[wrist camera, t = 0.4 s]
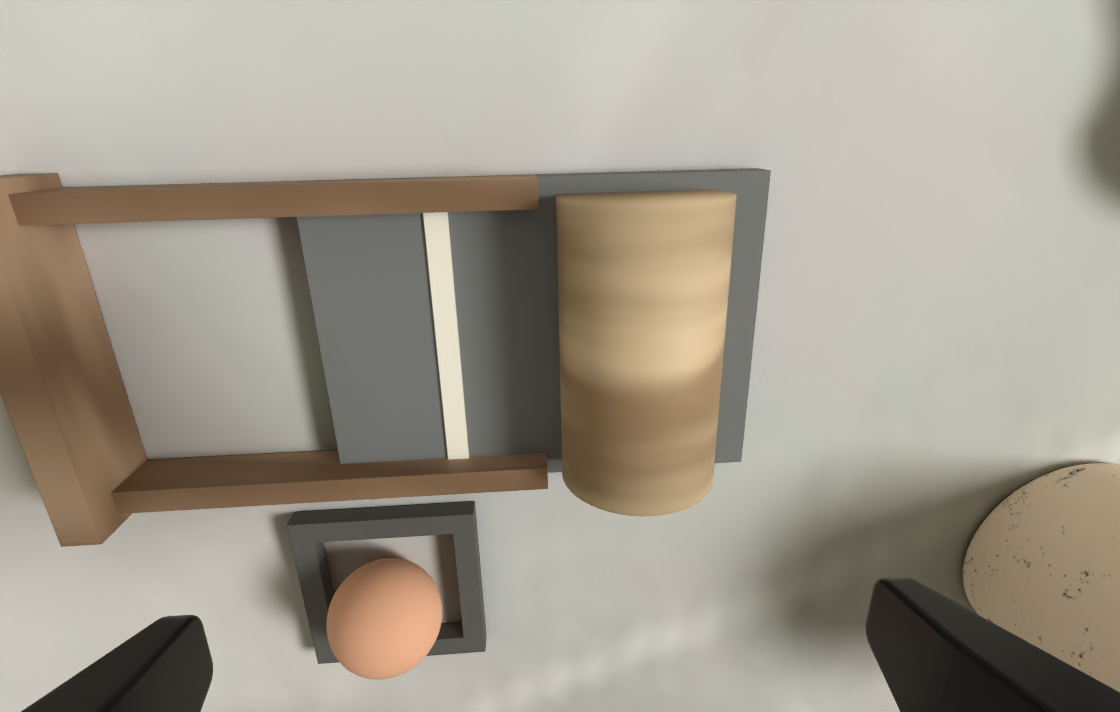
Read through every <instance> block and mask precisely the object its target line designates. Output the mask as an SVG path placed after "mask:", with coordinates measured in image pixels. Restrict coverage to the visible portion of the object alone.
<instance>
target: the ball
mask: <svg viewBox="0 0 1120 712" xmlns="http://www.w3.org/2000/svg"><path fill="white" fill-rule="evenodd" d="M441 622H442V601H441V597H440V593H439V591H438V588H437V586H436V584H435V582H434V581H433V579H432V578H431V577H430V575H429V574H428V573H427V572H426V571H425V570H424V569H422V568H421V567H420V566H418V565H416V564H415V563H413V562H410V561H407V560H404V559H399V558H383V559H378V560H374V561H371V562H369V563H366V564H364V565H362V566H361V567H359V568H358V569H356V570H355V571H353V572H352V573H351V574H350V575H349V576H348V577H347V578H346V579H345V580H344V581H343V582H342V583H341V585H340V586H339V587H338V589H337V591H336V592H335V594H334V596H333V598H332V601H331V603H330V606H329V610H328V614H327V625H326V627H327V637H328V641H329V644H330V647H331V649H332V651H333V653H334V655H335V657H336V658H337V660H338V661H339V662H340V663H341V664H342V665H343V666H344V667H345V668H346V669H347V670H349V671H350V672H352V673H354V674H356V675H358V676H361V677H364V678H369V679H387V678H392V677H396V676H398V675H401V674H403V673H405V672H407V671H409V670H410V669H412V668H413V667H414V666H416V665H417V664H418V663H419V662H421V660H422V659H423V658H424V657H425V656H426V655H427V654H428V652H429V651H430V650H431V648H432V646H433V645H434V643H435V641H436V639H437V636H438V634H439V631H440V627H441Z"/></svg>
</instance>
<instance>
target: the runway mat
mask: <svg viewBox="0 0 1120 712" xmlns="http://www.w3.org/2000/svg"><path fill="white" fill-rule="evenodd" d="M770 172H771V171H770V170H764V169H758V168H757V169H720V170H683V171H647V172H610V173H574V174H537V175H536V177H537V180H538V208H539V209H533V210H501V211H468V212H436V213H403V214H371V215H338V216H306V217H297V222H298V228H299V233H300V239H301V245H302V250H303V256H304V261H305V267H306V273H307V278H308V284H309V290H310V295H311V301H312V306H313V312H314V318H315V323H316V329H317V335H318V340H319V346H320V351H321V357H322V363H323V368H324V374H325V380H326V385H327V391H328V396H329V402H330V408H331V413H332V419H333V425H334V430H335V436H336V442H337V447H338V453H339V458H340V464H350V463H369V462H387V461H405V460H423V459H442V458H448V460H451V459H469V457H478V456H496V455H515V454H533V453H546V460H547V473H549V472H562V434H561V390H560V347H559V303H558V260H557V217H556V196H557V195H560V194H577V193H611V192H645V191H679V190H721V191H727V192H731V193H734V194H736V196H737V197H736V209H735V221H734V233H733V245H732V257H731V269H730V281H729V294H728V306H727V318H726V330H725V342H724V354H723V366H722V378H721V390H720V402H719V414H718V426H717V438H716V450H715V462H714V463H725V462H741V457H742V448H743V438H744V428H745V418H746V408H747V398H748V389H749V379H750V369H751V359H752V349H753V339H754V330H755V320H756V310H757V300H758V290H759V280H760V270H761V261H762V251H763V241H764V231H765V221H766V211H767V202H768V192H769V182H770Z"/></svg>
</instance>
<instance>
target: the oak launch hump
mask: <svg viewBox="0 0 1120 712" xmlns="http://www.w3.org/2000/svg"><path fill="white" fill-rule="evenodd" d="M736 197H737V196H736V194H734V193H731V192H727V191H721V190H679V191H645V192H611V193H577V194H560V195H557V196H556V217H557V260H558V303H559V347H560V390H561V434H562V475H563V479H564V482H565V484H566V486H567V487H568V488H569V490H570V491H571V492H572V493H573V494H574V495H575V496H577V497H578V498H579V499H581V500H582V501H584V502H586V503H588V504H590V505H592V506H594V507H597V508H599V509H602V510H605V511H608V512H612V513H617V514H623V515H630V516H657V515H665V514H670V513H675V512H678V511H682V510H684V509H687V508H689V507H691V506H693V505H695V504H697V503H698V502H700V501H701V500H702V499H703V498H704V497H705V496H706V495H707V494H708V493H709V491H710V489H711V487H712V484H713V474H714V462H715V450H716V438H717V426H718V414H719V402H720V390H721V378H722V366H723V354H724V342H725V330H726V318H727V306H728V294H729V281H730V269H731V257H732V245H733V233H734V221H735V209H736Z"/></svg>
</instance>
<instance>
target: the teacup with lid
mask: <svg viewBox="0 0 1120 712" xmlns="http://www.w3.org/2000/svg"><path fill="white" fill-rule="evenodd" d="M963 583H964V589H965V592H966V595H967V598H968V600H969V602H970V604H971V606H972V607H973V609H974V610H975V611H976V613H977V614H978V615H980V616H982V617H983V618H985V619H987V620H989V621H991V622H993V623H994V624H996V625H998V626H1000V627H1002V628H1004V629H1005V630H1007V631H1009V632H1011V633H1013V634H1015V635H1016V636H1018V637H1020V638H1022V639H1024V640H1026V641H1027V642H1029V643H1031V644H1033V645H1035V646H1036V647H1038V648H1040V649H1042V650H1044V651H1046V652H1047V653H1049V654H1051V655H1053V656H1055V657H1057V658H1058V659H1060V660H1062V661H1064V662H1066V663H1068V664H1069V665H1071V666H1073V667H1075V668H1077V669H1079V670H1080V671H1082V672H1084V673H1086V674H1088V675H1089V676H1091V677H1093V678H1095V679H1097V680H1099V681H1100V682H1102V683H1104V684H1106V685H1108V686H1110V687H1111V688H1113V689H1115V690H1117V691H1119V692H1120V465H1115V464H1105V463H1091V464H1082V465H1076V466H1070V467H1066V468H1063V469H1059V470H1056V471H1053V472H1050V473H1048V474H1045V475H1043V476H1041V477H1039V478H1037V479H1035V480H1033V481H1031V482H1029V483H1027V484H1026V485H1024V486H1022V487H1021V488H1019V489H1018V490H1016V491H1015V492H1013V493H1012V494H1011V495H1009V496H1008V497H1007V498H1006V499H1004V500H1003V501H1002V502H1001V503H1000V504H999V505H998V506H997V507H996V508H995V509H994V510H993V511H992V512H991V513H990V514H989V515H988V516H987V518H986V519H985V520H984V521H983V523H982V524H981V525H980V527H979V528H978V530H977V531H976V533H975V535H974V537H973V538H972V540H971V543H970V545H969V547H968V550H967V553H966V556H965V561H964V567H963Z"/></svg>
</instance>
